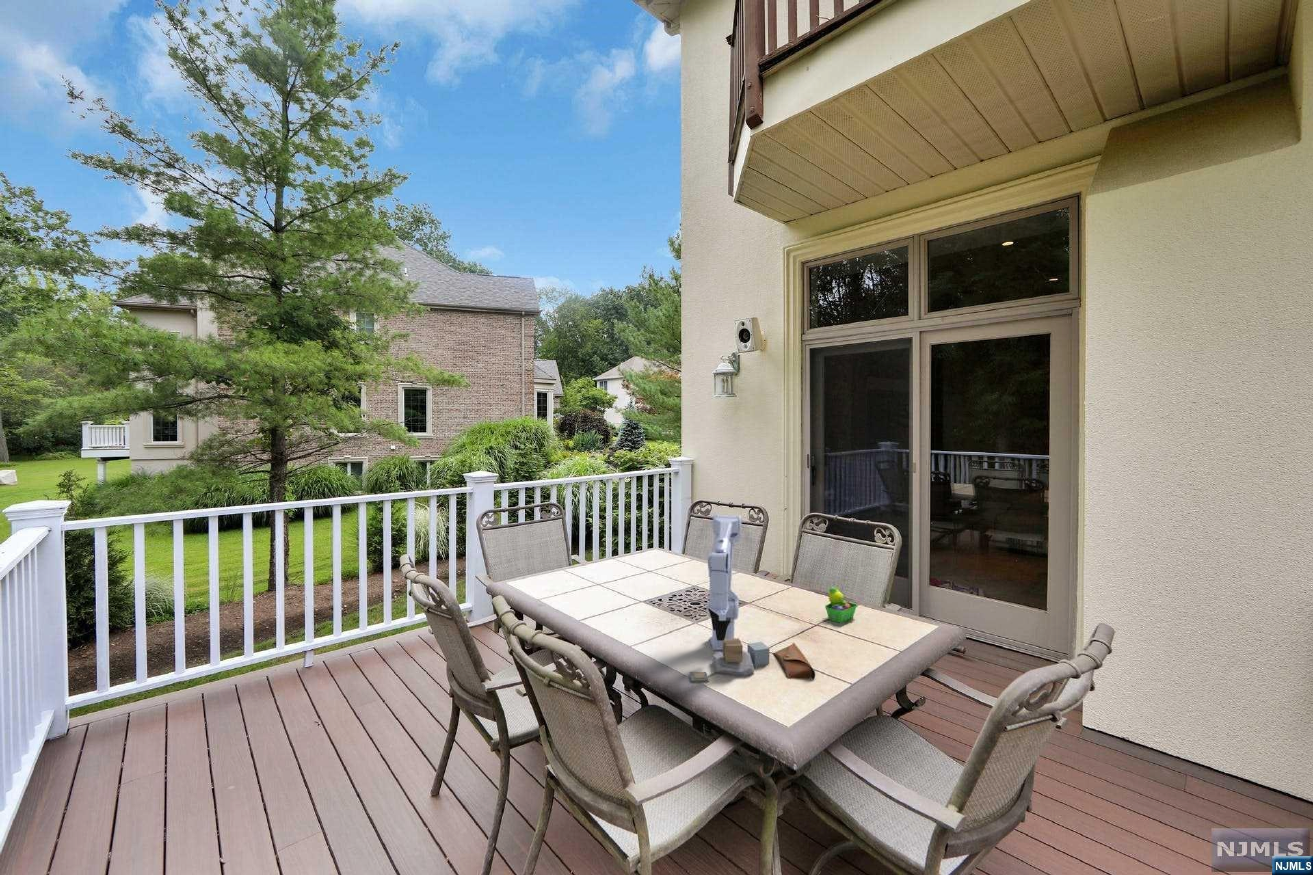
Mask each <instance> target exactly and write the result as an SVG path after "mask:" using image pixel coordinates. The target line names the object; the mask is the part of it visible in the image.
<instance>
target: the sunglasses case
mask: <svg viewBox="0 0 1313 875" xmlns="http://www.w3.org/2000/svg"><path fill="white" fill-rule="evenodd" d="M772 654H773V655H774V656H775V658H776V659H777V661H778V662H779V664H780V665H781V667H782V669H783V671H784V673H785V675H786V678H787V679H789V680H791V679H801V680H802V679H815V678H816V671H815V670H814V668H813V667H812V665H811V663H810V662H809V661H808V659H807V658H806V656H805V655H804V654H803V653H802V651H801V650H800V649H799V647H798V646H797V644H796V643H795V642H793V643H792V644H790V645H788V646H786V647H784V648H781V649H779V650H777V651H775V652H773V653H772Z"/></svg>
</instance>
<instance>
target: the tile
mask: <svg viewBox="0 0 1313 875" xmlns="http://www.w3.org/2000/svg"><path fill="white" fill-rule="evenodd" d="M689 678H690V682H691V683H709V681H710V680H709V677H708V674H707V671H689Z"/></svg>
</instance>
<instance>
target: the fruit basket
mask: <svg viewBox="0 0 1313 875" xmlns="http://www.w3.org/2000/svg"><path fill="white" fill-rule="evenodd" d="M844 599H845V596H844V595H843V593H842V592H840V591H839V589H838V588H836V587H834V586H831V587H830V588H829V591H828V601H829V602H830V603H828V604H826V605H825V606H824V608H825V610H826V614H827V617H828V619H829V620H830V619H831V621H834V622H836V621H837V623H840V624H841V623H843V622H846V621H847V620H850V619H852V618H854V616H855V612H856V609H857V606H858V604H856V603H854V602H850V601H847V600H844Z"/></svg>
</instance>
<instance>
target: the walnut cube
mask: <svg viewBox="0 0 1313 875" xmlns="http://www.w3.org/2000/svg"><path fill="white" fill-rule="evenodd" d="M743 651H744V649H743V643H742V642H741V640H740V638H735V637H734V639H724V641H723V650H722V653H723V657H724V659H725V661H726V662H742V656H743Z"/></svg>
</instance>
